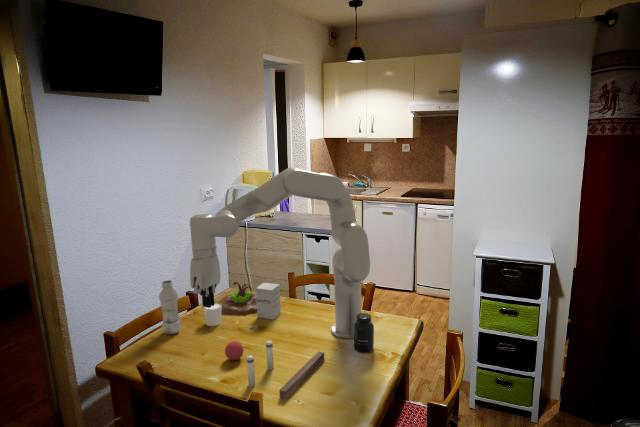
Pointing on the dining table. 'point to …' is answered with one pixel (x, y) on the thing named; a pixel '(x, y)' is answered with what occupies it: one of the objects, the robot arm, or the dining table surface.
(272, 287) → the supplement box
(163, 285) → the plastic bottle
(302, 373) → the back wall
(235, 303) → the plant
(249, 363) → the side pin
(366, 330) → the supplement bottle
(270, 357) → the pin
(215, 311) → the white cup
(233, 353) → the ball
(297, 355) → the dining table surface
